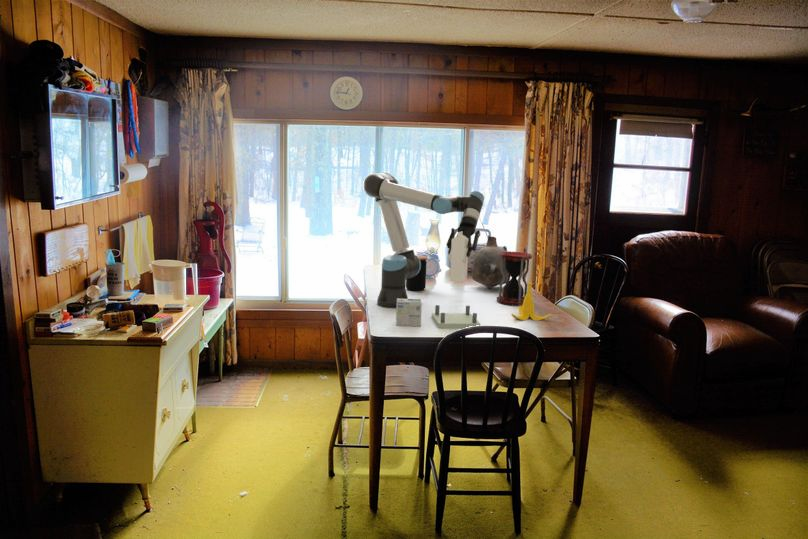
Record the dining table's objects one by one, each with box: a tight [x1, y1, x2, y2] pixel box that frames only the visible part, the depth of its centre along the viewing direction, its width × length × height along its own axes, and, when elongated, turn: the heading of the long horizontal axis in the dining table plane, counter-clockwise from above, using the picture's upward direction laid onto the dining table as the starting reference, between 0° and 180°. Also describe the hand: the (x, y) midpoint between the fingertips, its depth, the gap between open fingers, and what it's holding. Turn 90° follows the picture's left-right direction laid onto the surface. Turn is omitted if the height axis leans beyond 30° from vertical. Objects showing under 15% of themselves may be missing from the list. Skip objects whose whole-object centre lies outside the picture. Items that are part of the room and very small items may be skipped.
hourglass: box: [496, 250, 533, 307], centre depth 323 cm, size 16×16×25 cm
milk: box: [449, 231, 469, 283], centre depth 285 cm, size 6×6×22 cm
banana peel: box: [510, 282, 552, 321], centre depth 291 cm, size 16×19×17 cm
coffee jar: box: [405, 254, 428, 292], centre depth 345 cm, size 11×11×18 cm
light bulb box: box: [395, 298, 423, 327], centre depth 273 cm, size 11×7×11 cm, turn 92°
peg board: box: [431, 304, 481, 329], centre depth 279 cm, size 18×18×6 cm
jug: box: [471, 234, 508, 289], centre depth 355 cm, size 24×21×30 cm
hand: (456, 261), depth 282 cm, fingers closed on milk, 6 cm apart
